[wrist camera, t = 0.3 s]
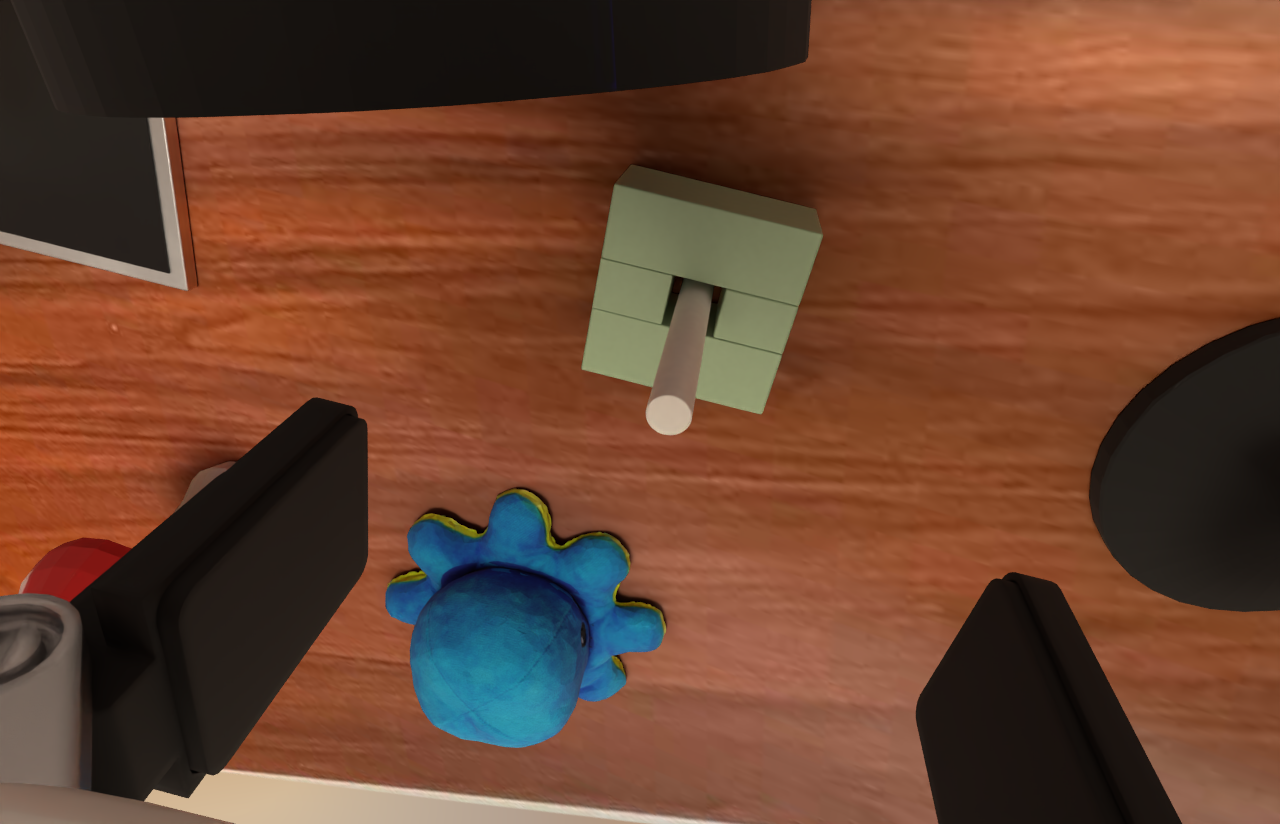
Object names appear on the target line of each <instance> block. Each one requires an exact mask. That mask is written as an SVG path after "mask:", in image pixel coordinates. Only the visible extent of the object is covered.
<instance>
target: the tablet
mask: <svg viewBox="0 0 1280 824" xmlns="http://www.w3.org/2000/svg"><path fill="white" fill-rule="evenodd" d="M0 244H3V245H7V246H11V247H15V248H19V249H23V250H27V251H31V252H35V253H39V254H43V255H47V256H51V257H55V258H59V259H63V260H67V261H70V262H74V263H78V264H82V265H86V266H90V267H94V268H98V269H102V270H106V271H110V272H114V273H118V274H122V275H126V276H130V277H134V278H138V279H142V280H146V281H150V282H154V283H158V284H162V285H166V286H170V287H174V288H178V289H182V290H186V291H189V290H191V289H193V288H195V287H197V277H196V270H195V262H194V254H193V247H192V239H191V232H190V224H189V216H188V209H187V201H186V193H185V186H184V178H183V170H182V163H181V155H180V148H179V140H178V132H177V125H176V118H123V117H97V116H85V115H78V114H71V113H66V112H61V111H58V110H56V109H55V106H54V104H53V101H52V99H51V97H50V94H49V92H48V89H47V87H46V85H45V82H44V80H43V77H42V75H41V73H40V70H39V68H38V65H37V63H36V61H35V58H34V56H33V53H32V51H31V49H30V46H29V44H28V41H27V39H26V37H25V34H24V32H23V29H22V27H21V25H20V22H19V20H18V17H17V15H16V13H15V10H14V8H13V5H12V3H11V0H0Z"/></svg>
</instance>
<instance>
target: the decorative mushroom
mask: <svg viewBox="0 0 1280 824" xmlns="http://www.w3.org/2000/svg"><path fill="white" fill-rule="evenodd" d="M235 463H236V462H233V461H228V462H225V463H222V464H219V465H217V466H214V467H211V468H208V469H205V470H202V471H200V472H199V473H198V474H197V475H196V476H195V477H194V478H193V479H192V481H191V483H190V486H189V488H188V490H187V492H186V494H185V497H184V499H183V501H182V502H181V504H180V505H179V506H178V508H177V509H176V510H175V512H176V511H177V510H178V509H179V508H180V507H182V506H183V505H184V504H185V503H186V502H187V501H189V500H190V499H191V498H192V497H193V496H195V495H196V494H197V493H198V492H199V491H200V490H202V489H203V488H204V487H205V486H206V485H207V484H209V483H210V482H211V481H212V480H213V479H215V478H216V477H217V476H219V475H220V474H222V473H223V472H225V471H226V470H228V469H229V468H230V467H231V466H232V465H234V464H235ZM175 512H174V513H175ZM130 550H131V548H128V547H126V546H123V545H120V544H118V543H115V542H112V541H110V540H103V539H93V538H81V539H77V540H74V541H70V542H67V543H64V544H62V545H60V546H58V547H56V548H55V549H53V550H51V551H49V552H48V553H47V554H46V555H45V556H44V557H43V558H42V559H41V560H40V561H39V562H38V563H37V564H36V565H35V567H34V568H33V569H32V570H31V572H30V573H29V574H28V576H27V577H26V578H25V579H24V581H23V582H22V583H21V587H20V591H19V594H24V593H34V594H48V595H53V596H55V597H58V598H61V599H64V600H67V601H68V602H70V601H71V600H72V599H73V598H75V597H76V596H77V595H78V594H79V593H80V592H82V591H83V590H84V589H85V588H86V587H88V586H89V585H90V584H91V583H92V582H93V581H95V580H96V579H97V578H98V577H99V576H100V575H102V574H103V573H104V572H105V571H106V570H108V569H109V568H110V567H111V566H112V565H113V564H115V563H116V562H117V561H118V560H119V559H120V558H122V557H123V556H124V555H125V554H126V553H128V552H129V551H130Z"/></svg>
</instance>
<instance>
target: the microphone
mask: <svg viewBox="0 0 1280 824" xmlns="http://www.w3.org/2000/svg"><path fill="white" fill-rule="evenodd" d="M1089 498H1090V504H1091V509H1092V515H1093V520H1094V522H1095V524H1096V526H1097V528H1098V531H1099V533H1100V535H1101V537H1102V539H1103V541H1104V543H1105V544H1106V546H1107V547H1108V549H1109V551H1110V552H1111V554H1112V555H1113V557H1114V558H1115V559H1116V560H1117V561H1118V562H1119V563H1120V564H1121V565H1122V567H1123V568H1124V569H1125V570H1126V571H1127V572H1128V573H1129V574H1130V575H1131V576H1132V577H1134V578H1135V579H1137V580H1138V581H1140V582H1141V583H1143V584H1144V585H1145V586H1147V587H1148V588H1150V589H1151V590H1153V591H1156V592H1158V593H1160V594H1163V595H1165V596H1167V597H1170V598H1172V599H1174V600H1176V601H1179V602H1183V603H1187V604H1191V605H1195V606H1200V607H1204V608H1208V609H1217V610H1229V611H1241V612H1250V611H1273V610H1280V318H1279V319H1275V320H1271V321H1268V322H1264V323H1260V324H1257V325H1253V326H1250V327H1247V328H1245V329H1243V330H1240V331H1238V332H1235V333H1233V334H1231V335H1228V336H1226V337H1224V338H1221V339H1219V340H1217V341H1214V342H1212V343H1210V344H1208V345H1206V346H1205V347H1203V348H1201V349H1199V350H1198V351H1196V352H1194V353H1193V354H1191V355H1189V356H1188V357H1186V358H1184V359H1183V360H1181V361H1179V362H1177V363H1176V364H1174V365H1173V366H1171V367H1170V368H1169V369H1168V370H1167V371H1165V372H1164V373H1163V374H1162V375H1160V376H1159V377H1158V378H1157V379H1155V380H1154V381H1153V382H1152V383H1150V384H1149V385H1148V386H1147V387H1145V388H1144V389H1143V390H1142V391H1141V392H1140V393H1139V394H1138V395H1137V396H1136V398H1135V399H1134V400H1133V401H1132V402H1131V403H1130V404H1129V405H1128V406H1127V407H1126V409H1125V410H1124V411H1123V412H1122V413H1121V414H1120V415H1119V416H1118V418H1117V419H1116V421H1115V423H1114V424H1113V426H1112V428H1111V429H1110V431H1109V432H1108V434H1107V436H1106V437H1105V439H1104V441H1103V442H1102V444H1101V446H1100V449H1099V452H1098V455H1097V458H1096V460H1095V463H1094V466H1093V469H1092V473H1091V484H1090V494H1089Z"/></svg>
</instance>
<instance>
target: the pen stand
mask: <svg viewBox="0 0 1280 824" xmlns="http://www.w3.org/2000/svg"><path fill="white" fill-rule="evenodd" d="M822 238H823V233H822V229H821V225H820V222H819V218H818V215H817V211H816V209H813V208H809V207H805V206H801V205H797V204H793V203H789V202H785V201H781V200H776V199H772V198H768V197H764V196H760V195H756V194H752V193H748V192H743V191H739V190H735V189H731V188H727V187H723V186H719V185H715V184H711V183H706V182H702V181H698V180H694V179H690V178H686V177H682V176H678V175H674V174H669V173H665V172H661V171H657V170H653V169H649V168H645V167H641V166H637V165H630V166H629V167H628V169H627V170H626V171H625V172H624V173H623V174H622V176H621V177H620V178H619V179H618V180H617V182H616V183H615V184H614V188H613V193H612V199H611V205H610V210H609V216H608V221H607V227H606V233H605V238H604V244H603V249H602V255H601V256H602V258H601V260H600V266H599V271H598V277H597V283H596V288H595V294H594V299H593V305H592V307H593V308H592V311H591V316H590V322H589V328H588V333H587V339H586V344H585V350H584V356H583V361H582V367H581V368H582V370H586V371H590V372H594V373H598V374H602V375H606V376H610V377H614V378H618V379H622V380H626V381H630V382H634V383H638V384H642V385H646V386H650V387H653V384H654V380H655V377H656V373H657V370H658V366H659V363H660V359H661V356H662V352H663V349H664V345H665V342H666V338H667V335H668V331H669V328H670V324H671V321H672V317H673V314H674V310H675V307H676V303H677V300H678V296H679V294H675V293H671V292H672V288H673V284H674V280H675V276H679V277H683V278H687V279H691V280H695V281H699V282H703V283H707V284H711V285H715V286H719V287H722V289H721V293H720V297H719V300H718V304H715V303H711V307H710V313H709V319H708V325H707V331H706V337H705V343H704V349H703V355H702V361H701V367H700V373H699V379H698V385H697V391H696V397H695V398H698V399H702V400H706V401H710V402H713V403H717V404H721V405H725V406H729V407H733V408H737V409H741V410H745V411H749V412H753V413H757V414H762V413H763V410H764V407H765V404H766V401H767V398H768V396H769V393H770V390H771V387H772V384H773V381H774V378H775V375H776V372H777V369H778V366H779V363H780V360H781V358H782V353H783V351H784V349H785V346H786V343H787V340H788V337H789V334H790V331H791V328H792V325H793V322H794V319H795V316H796V313H797V311H798V306H799V305H800V302H801V299H802V296H803V293H804V290H805V287H806V284H807V282H808V279H809V276H810V273H811V270H812V267H813V264H814V261H815V258H816V255H817V252H818V249H819V246H820V244H821V241H822Z"/></svg>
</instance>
